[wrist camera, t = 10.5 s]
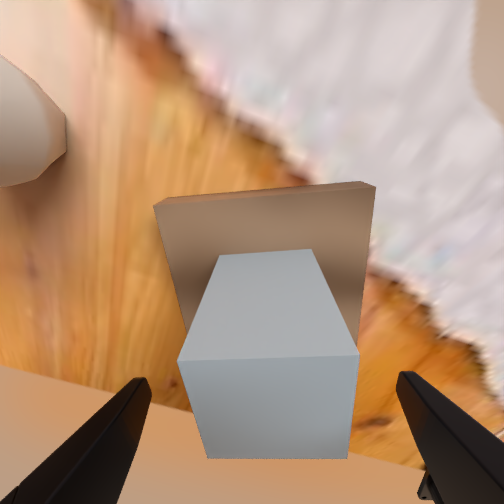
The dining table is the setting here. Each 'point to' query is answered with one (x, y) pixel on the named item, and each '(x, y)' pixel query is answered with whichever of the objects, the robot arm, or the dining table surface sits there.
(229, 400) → the slate block
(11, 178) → the salt shaker
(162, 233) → the walnut plinth
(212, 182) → the dining table surface
